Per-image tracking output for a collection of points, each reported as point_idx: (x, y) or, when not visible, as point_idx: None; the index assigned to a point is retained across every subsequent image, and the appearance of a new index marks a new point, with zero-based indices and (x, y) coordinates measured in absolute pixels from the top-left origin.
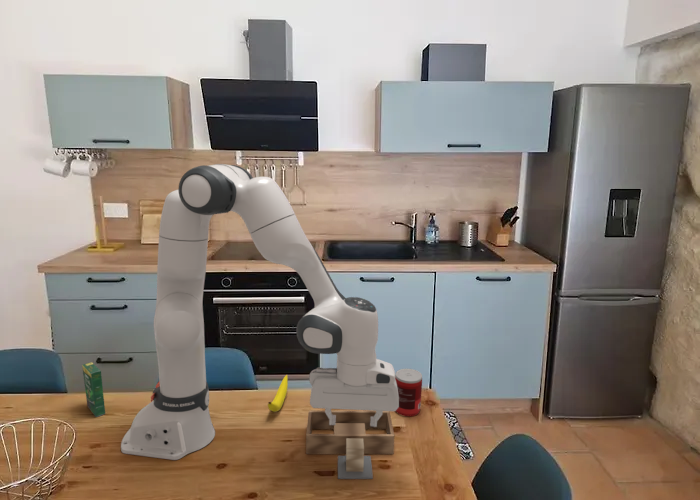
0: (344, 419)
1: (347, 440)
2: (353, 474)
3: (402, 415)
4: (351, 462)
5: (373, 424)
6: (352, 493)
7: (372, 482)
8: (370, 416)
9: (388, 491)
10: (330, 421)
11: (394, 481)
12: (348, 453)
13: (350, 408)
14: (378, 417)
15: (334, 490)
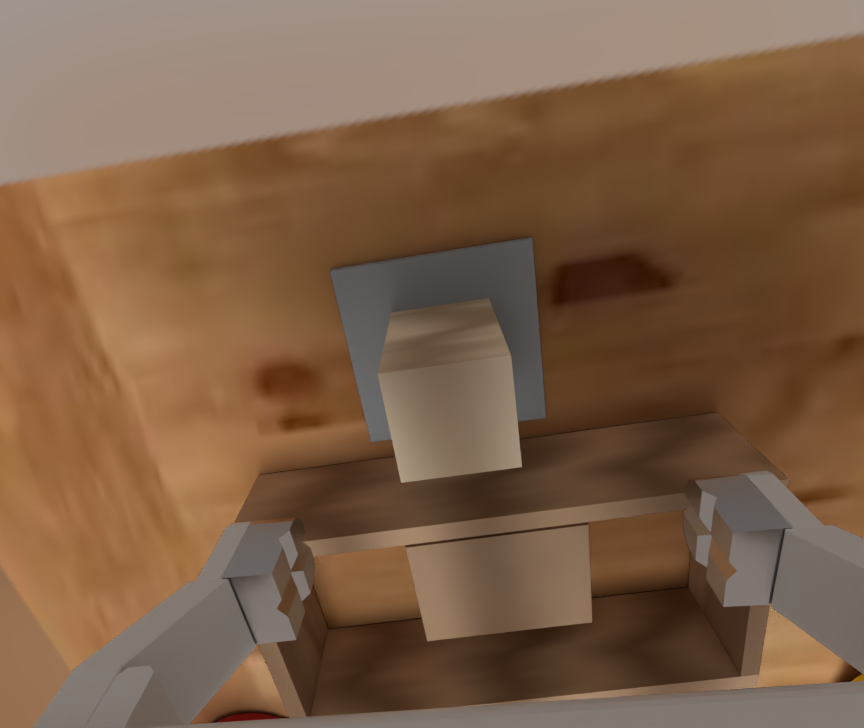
0: (537, 654)
1: (512, 446)
2: (444, 279)
3: (272, 715)
4: (463, 320)
5: (253, 538)
6: (431, 119)
7: (328, 239)
8: (295, 639)
9: (222, 174)
10: (784, 500)
11: (207, 268)
12: (491, 341)
13: (593, 724)
14: (152, 621)
15: (543, 129)
